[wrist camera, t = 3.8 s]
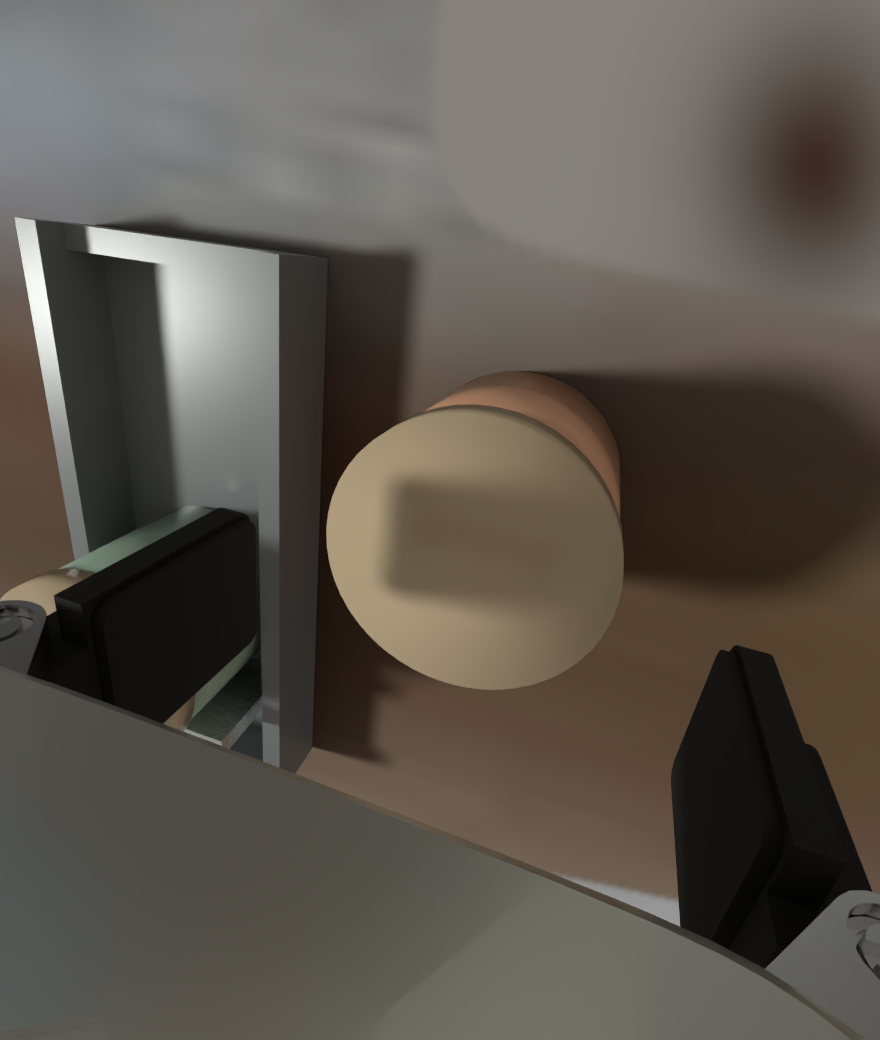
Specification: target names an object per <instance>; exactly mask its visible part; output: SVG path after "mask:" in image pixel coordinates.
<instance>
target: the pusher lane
mask: <svg viewBox="0 0 880 1040" xmlns="http://www.w3.org/2000/svg"><path fill="white" fill-rule="evenodd" d="M15 222H16V228H17V234H18V239H19V245H20V251H21V256H22V262H23V268H24V273H25V279H26V285H27V290H28V296H29V302H30V308H31V313H32V319H33V325H34V330H35V336H36V342H37V347H38V353H39V359H40V364H41V370H42V376H43V381H44V387H45V393H46V399H47V404H48V410H49V416H50V421H51V427H52V433H53V438H54V444H55V450H56V455H57V461H58V467H59V473H60V478H61V484H62V490H63V495H64V501H65V507H66V512H67V518H68V524H69V529H70V535H71V541H72V546H73V552H74V558H75V560H77V559H79V558H81V557H83V556H85V555H87V554H89V553H91V552H93V551H94V550H96V549H98V548H100V547H102V546H104V545H106V544H108V543H110V542H112V541H114V540H116V539H118V538H120V537H122V536H124V535H126V534H128V533H130V532H132V531H133V530H135V529H137V528H139V527H141V526H143V525H145V524H147V523H149V522H151V521H153V520H155V519H157V518H159V517H161V516H163V515H165V514H167V513H169V512H171V511H173V510H175V509H177V508H181V507H186V506H204V507H209V508H213V509H218V508H226V509H230V510H233V511H237V512H241V513H244V514H246V515H248V516H249V519H250V522H252V523H253V524H254V525H255V529H256V535H257V536H258V537H259V565H260V620H261V649H260V650H259V651H258V652H257V653H256V654H255V655H254V656H253V657H252V658H251V659H252V660H255V661H258V662H261V676H262V711H261V712H260V713H259V714H258V715H257V717H256V718H255V719H254V720H253V721H252V723H251V724H250V725H249V726H248V727H247V728H246V730H245V731H244V732H243V733H242V734H241V736H240V737H239V738H238V739H237V740H236V742H235V743H234V744H233V745H232V746H231V748H230V749H231V750H234V751H237V752H239V753H242V754H244V755H247V756H250V757H252V758H255V759H258V760H260V761H263V762H265V763H268V764H271V765H273V766H276V767H278V768H281V769H284V770H286V771H289V772H292V773H294V774H295V773H296V771H297V770H298V768H299V767H300V765H301V764H302V762H303V761H304V759H305V758H306V756H307V755H308V753H309V752H310V750H311V749H312V740H313V710H314V679H315V648H316V617H317V586H318V555H319V524H320V493H321V462H322V431H323V400H324V369H325V339H326V308H327V277H328V258H326V257H318V256H311V255H304V254H297V253H290V252H283V251H275V250H268V249H261V248H254V247H247V246H240V245H232V244H225V243H218V242H211V241H204V240H197V239H189V238H182V237H175V236H168V235H161V234H154V233H146V232H139V231H132V230H125V229H118V228H111V227H103V226H96V225H88V224H78V223H68V222H58V221H48V220H38V219H28V218H18V217H15Z"/></svg>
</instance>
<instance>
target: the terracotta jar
mask: <svg viewBox="0 0 880 1040" xmlns="http://www.w3.org/2000/svg"><path fill="white" fill-rule="evenodd" d="M620 487H621V467H620V456H619V452H618V448H617V444H616V441H615V439H614V436H613V434H612V431H611V429H610V427H609V426H608V424H607V422H606V420H605V419H604V417H603V416H602V415H601V413H600V412H599V411H598V409H597V408H596V407H595V406H594V405H593V404H592V403H591V402H590V401H589V400H588V399H587V398H586V397H585V396H584V395H582V394H581V393H580V392H578V391H577V390H576V389H574V388H573V387H571V386H569V385H567V384H565V383H564V382H562V381H559V380H557V379H554V378H552V377H549V376H546V375H542V374H538V373H534V372H524V371H505V372H499V373H493V374H489V375H486V376H483V377H479V378H477V379H475V380H473V381H471V382H469V383H466V384H465V385H463V386H462V387H460V388H459V389H457V390H456V391H454V392H453V393H451V394H450V395H448V396H447V397H445V398H444V399H442V400H441V401H439V402H438V403H436V404H435V405H433V406H432V407H430V408H429V409H427V410H426V411H424V412H421V413H418V414H416V415H414V416H412V417H410V418H408V419H405V420H403V421H402V422H400V423H399V424H397V425H395V426H394V427H392V428H391V429H389V430H388V431H386V432H385V433H383V434H382V435H380V436H378V437H377V438H375V439H374V440H372V441H371V442H370V443H369V444H368V445H367V446H366V447H364V448H363V449H362V450H361V451H360V452H359V453H358V454H357V455H356V457H355V458H354V459H353V460H352V461H351V463H350V464H349V465H348V466H347V468H346V470H345V471H344V473H343V475H342V476H341V478H340V480H339V481H338V484H337V486H336V489H335V491H334V494H333V496H332V500H331V504H330V508H329V511H328V519H327V528H326V536H327V551H328V557H329V563H330V567H331V570H332V574H333V577H334V580H335V583H336V585H337V588H338V590H339V592H340V595H341V597H342V598H343V600H344V602H345V604H346V606H347V607H348V609H349V611H350V612H351V614H352V615H353V616H354V618H355V619H356V621H357V622H358V623H359V625H360V626H361V627H362V628H363V629H364V630H365V632H366V633H367V634H368V635H369V636H370V637H371V638H372V639H373V640H374V641H375V642H376V643H377V644H378V645H379V646H381V647H382V648H383V649H384V650H385V651H387V652H388V653H389V654H391V655H392V656H393V657H395V658H396V659H397V660H399V661H400V662H402V663H404V664H405V665H407V666H409V667H410V668H412V669H414V670H416V671H418V672H420V673H422V674H424V675H426V676H429V677H431V678H434V679H437V680H440V681H442V682H445V683H449V684H453V685H457V686H461V687H468V688H475V689H491V690H500V689H512V688H519V687H523V686H528V685H533V684H536V683H539V682H542V681H545V680H548V679H550V678H552V677H554V676H556V675H558V674H560V673H562V672H564V671H566V670H567V669H569V668H570V667H572V666H573V665H575V664H576V663H578V662H579V661H580V660H581V659H582V658H583V657H585V656H586V655H587V654H588V653H589V652H590V651H591V650H592V649H593V648H594V647H595V645H596V644H597V643H598V642H599V640H600V639H601V638H602V637H603V635H604V634H605V632H606V630H607V628H608V627H609V625H610V623H611V622H612V619H613V617H614V614H615V612H616V609H617V607H618V604H619V600H620V595H621V591H622V586H623V571H624V544H623V533H622V526H621V522H620Z"/></svg>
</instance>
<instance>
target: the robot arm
mask: <svg viewBox="0 0 880 1040" xmlns="http://www.w3.org/2000/svg"><path fill="white" fill-rule="evenodd" d="M54 601H55V606H56V611H55V612H53V613H51V614H50V615H48V616H47V614H46V611H45V610H44V608H43V607H42V606H41V605H38V604H36V603H34V602H30V601H23V600H5V601H0V1040H880V894H877V893H873V892H872V890H871V887H870V884H869V882H868V879H867V877H866V874H865V871H864V869H863V866H862V864H861V861H860V858H859V856H858V853H857V851H856V848H855V845H854V843H853V840H852V838H851V835H850V832H849V830H848V827H847V825H846V822H845V819H844V817H843V814H842V812H841V809H840V806H839V804H838V801H837V799H836V796H835V794H834V791H833V788H832V786H831V783H830V781H829V778H828V775H827V773H826V770H825V768H824V765H823V762H822V760H821V757H820V755H819V753H818V752H817V750H816V749H815V748H814V747H813V746H811V745H809V744H805V743H804V741H803V738H802V735H801V732H800V730H799V727H798V724H797V721H796V718H795V716H794V713H793V710H792V707H791V705H790V702H789V699H788V696H787V694H786V691H785V688H784V685H783V683H782V680H781V677H780V674H779V671H778V669H777V666H776V663H775V660H774V658H773V656H772V655H770V654H768V653H764V652H760V651H756V650H753V649H749V648H745V647H741V646H738V645H735V646H733V648H732V649H731V650H730V652H728V651H725V650H720V651H719V652H718V654H717V656H716V658H715V661H714V663H713V666H712V668H711V671H710V673H709V676H708V678H707V681H706V683H705V686H704V688H703V691H702V693H701V696H700V698H699V701H698V703H697V706H696V708H695V711H694V713H693V715H692V718H691V720H690V723H689V725H688V728H687V730H686V733H685V735H684V738H683V740H682V743H681V745H680V748H679V750H678V753H677V755H676V758H675V760H674V763H673V768H672V774H671V789H672V804H673V820H674V835H675V850H676V866H677V881H678V896H679V910H680V925H681V926H680V927H679V926H677V925H675V924H672V923H670V922H668V921H666V920H663V919H661V918H659V917H657V916H655V915H652V914H650V913H648V912H645V911H643V910H640V909H638V908H636V907H633V906H631V905H629V904H626V903H624V902H621V901H619V900H617V899H614V898H612V897H609V896H607V895H604V894H602V893H599V892H597V891H594V890H592V889H589V888H587V887H584V886H582V885H579V884H577V883H574V882H572V881H569V880H567V879H564V878H562V877H559V876H557V875H554V874H552V873H550V872H547V871H545V870H542V869H540V868H537V867H535V866H532V865H529V864H527V863H524V862H522V861H519V860H517V859H514V858H511V857H509V856H506V855H504V854H501V853H499V852H496V851H493V850H491V849H488V848H486V847H483V846H481V845H478V844H475V843H473V842H470V841H468V840H465V839H463V838H460V837H458V836H455V835H452V834H450V833H447V832H445V831H442V830H440V829H437V828H434V827H432V826H429V825H427V824H424V823H422V822H419V821H416V820H414V819H411V818H409V817H406V816H404V815H401V814H398V813H396V812H393V811H391V810H388V809H386V808H383V807H380V806H378V805H375V804H372V803H370V802H367V801H365V800H362V799H359V798H357V797H354V796H352V795H349V794H346V793H344V792H341V791H339V790H336V789H333V788H331V787H328V786H326V785H323V784H320V783H318V782H315V781H313V780H310V779H307V778H305V777H302V776H299V775H297V774H294V773H292V772H289V771H286V770H284V769H281V768H278V767H276V766H273V765H271V764H268V763H265V762H263V761H260V760H258V759H255V758H252V757H250V756H247V755H244V754H242V753H239V752H237V751H234V750H231V749H229V748H226V747H223V746H221V745H218V744H215V743H213V742H210V741H207V740H205V739H202V738H199V737H197V736H194V735H191V734H189V733H186V732H183V731H181V730H178V729H175V728H173V727H170V726H167V725H165V724H163V723H165V722H166V721H167V720H168V719H169V718H170V717H171V716H172V715H173V714H174V713H175V712H176V711H178V710H179V709H180V708H181V707H182V706H183V705H184V704H185V703H186V702H187V701H188V700H189V699H191V698H192V697H193V696H194V695H195V694H196V693H197V692H198V691H199V690H200V689H201V688H202V687H204V686H205V685H206V684H207V683H208V682H209V681H210V680H211V679H212V678H213V677H214V676H215V675H216V674H218V673H219V672H220V671H221V670H222V669H223V668H224V667H225V666H226V665H227V664H228V663H229V662H231V661H232V660H233V659H234V658H235V657H236V656H237V655H238V654H239V653H240V652H241V651H242V650H244V649H245V648H246V647H247V646H248V645H249V644H250V643H251V642H252V640H253V639H254V637H255V634H256V631H257V579H256V529H255V525H254V524H253V523H252V522H250V519H249V516H248V515H246V514H244V513H241V512H237V511H233V510H230V509H226V508H218V509H215V510H213V511H212V512H210V513H208V514H206V515H204V516H202V517H200V518H198V519H197V520H195V521H193V522H191V523H189V524H187V525H185V526H183V527H182V528H180V529H178V530H176V531H174V532H172V533H170V534H168V535H166V536H165V537H163V538H161V539H159V540H157V541H155V542H153V543H151V544H150V545H148V546H146V547H144V548H142V549H140V550H138V551H136V552H134V553H133V554H131V555H129V556H127V557H125V558H123V559H121V560H119V561H118V562H116V563H114V564H112V565H110V566H108V567H106V568H104V569H102V570H101V571H99V572H97V573H95V574H93V575H91V576H89V577H87V578H86V579H84V580H82V581H80V582H78V583H76V584H74V585H72V586H70V587H69V588H67V589H65V590H63V591H61V592H59V593H57V594H55V595H54Z"/></svg>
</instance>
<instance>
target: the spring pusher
mask: <svg viewBox="0 0 880 1040" xmlns="http://www.w3.org/2000/svg"><path fill="white" fill-rule="evenodd" d="M261 711H262V676H261V662H258V661H255V660H252V659H250V660H249V661H248V662H247V663H246V664H245V665H244V666H243V667H242V668H241V669H240V670H239V671H238V672H237V673H236V675H235V676H234V677H233V678H232V679H231V680H230V681H229V682H228V683H227V684H226V685H225V686H224V687H223V688H222V689H221V690H220V691H219V692H218V693H217V694H216V695H215V696H214V697H213V698H212V699H211V700H210V701H209V702H208V703H207V704H206V705H205V706H204V707H203V708H202V709H201V710H200V711H199V712H198V713H197V714H196V715H195V716H194V717H193V718H192V719H191V720H190V723H189V724H188V726H187V728H186V729H185V730H184V731H183V732H186V733H189V734H191V735H194V736H197V737H199V738H202V739H205V740H207V741H210V742H213V743H215V744H218V745H221V746H223V747H226V748H229V749H230V748H231V746H232V745H233V744H234V743H235V742H236V740H237V739H238V738H239V737H240V736H241V734H242V733H243V732H244V731H245V730H246V728H247V727H248V726H249V725H250V724H251V723H252V721H253V720H254V719H255V718H256V717H257V715H258V714H259V713H260V712H261Z"/></svg>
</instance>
